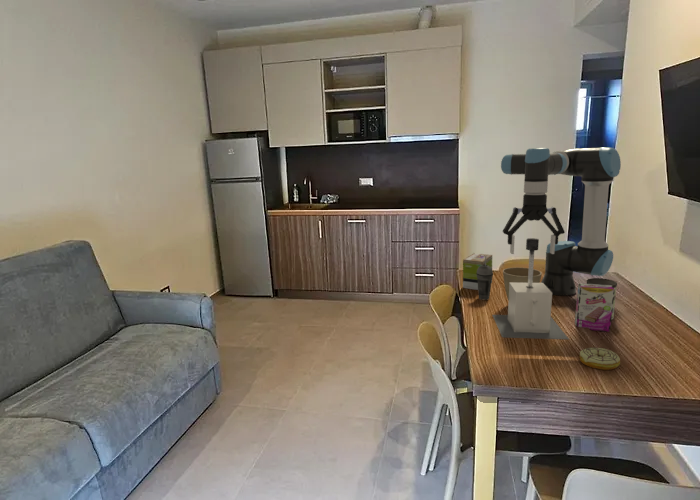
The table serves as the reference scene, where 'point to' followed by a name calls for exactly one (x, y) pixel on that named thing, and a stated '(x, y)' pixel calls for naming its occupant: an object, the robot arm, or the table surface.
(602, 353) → the decorated donut
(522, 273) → the plant pot
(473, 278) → the tea box
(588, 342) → the table surface
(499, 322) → the charcoal mat
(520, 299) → the white block with hole
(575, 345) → the table surface
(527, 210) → the robot arm
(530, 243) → the plunger
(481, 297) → the beverage cup
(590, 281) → the coffee can
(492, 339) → the table surface
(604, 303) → the candy bar box
